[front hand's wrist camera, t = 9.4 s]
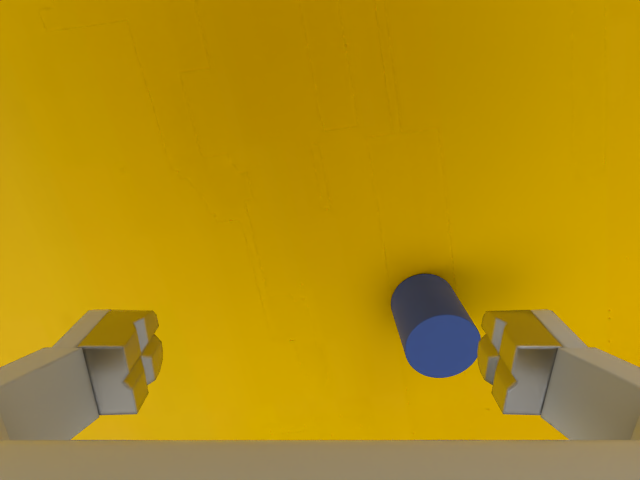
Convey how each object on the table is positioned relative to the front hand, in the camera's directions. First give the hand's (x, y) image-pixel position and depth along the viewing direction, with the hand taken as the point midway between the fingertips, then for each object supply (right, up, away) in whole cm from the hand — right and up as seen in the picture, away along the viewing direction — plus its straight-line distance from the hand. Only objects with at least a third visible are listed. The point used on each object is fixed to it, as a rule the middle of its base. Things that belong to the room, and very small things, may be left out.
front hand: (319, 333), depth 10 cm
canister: (+6, -1, +14) cm, 16 cm away
